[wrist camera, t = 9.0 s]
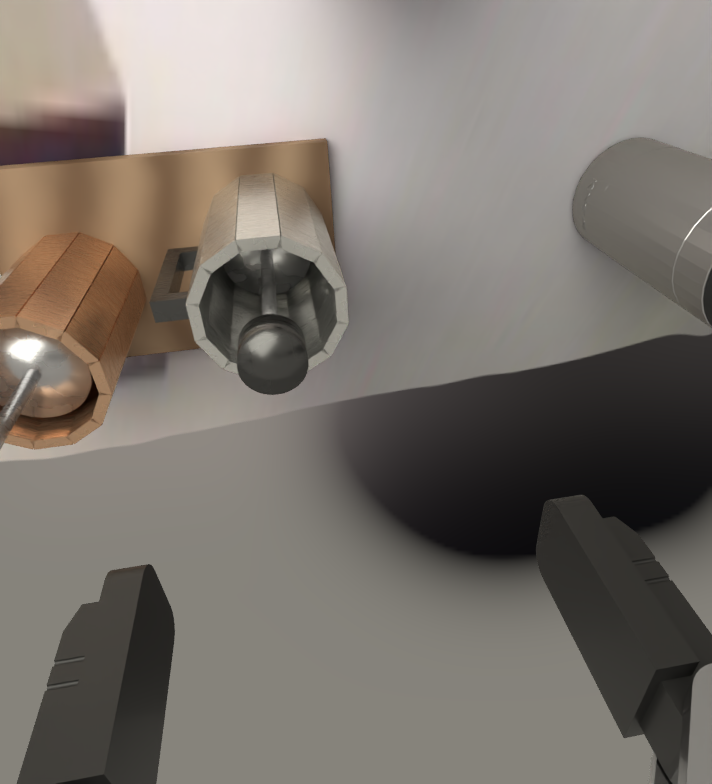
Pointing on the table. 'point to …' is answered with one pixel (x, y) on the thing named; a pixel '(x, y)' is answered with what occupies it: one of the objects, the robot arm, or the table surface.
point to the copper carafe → (74, 322)
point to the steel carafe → (248, 233)
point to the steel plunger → (270, 321)
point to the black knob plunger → (38, 378)
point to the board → (146, 208)
